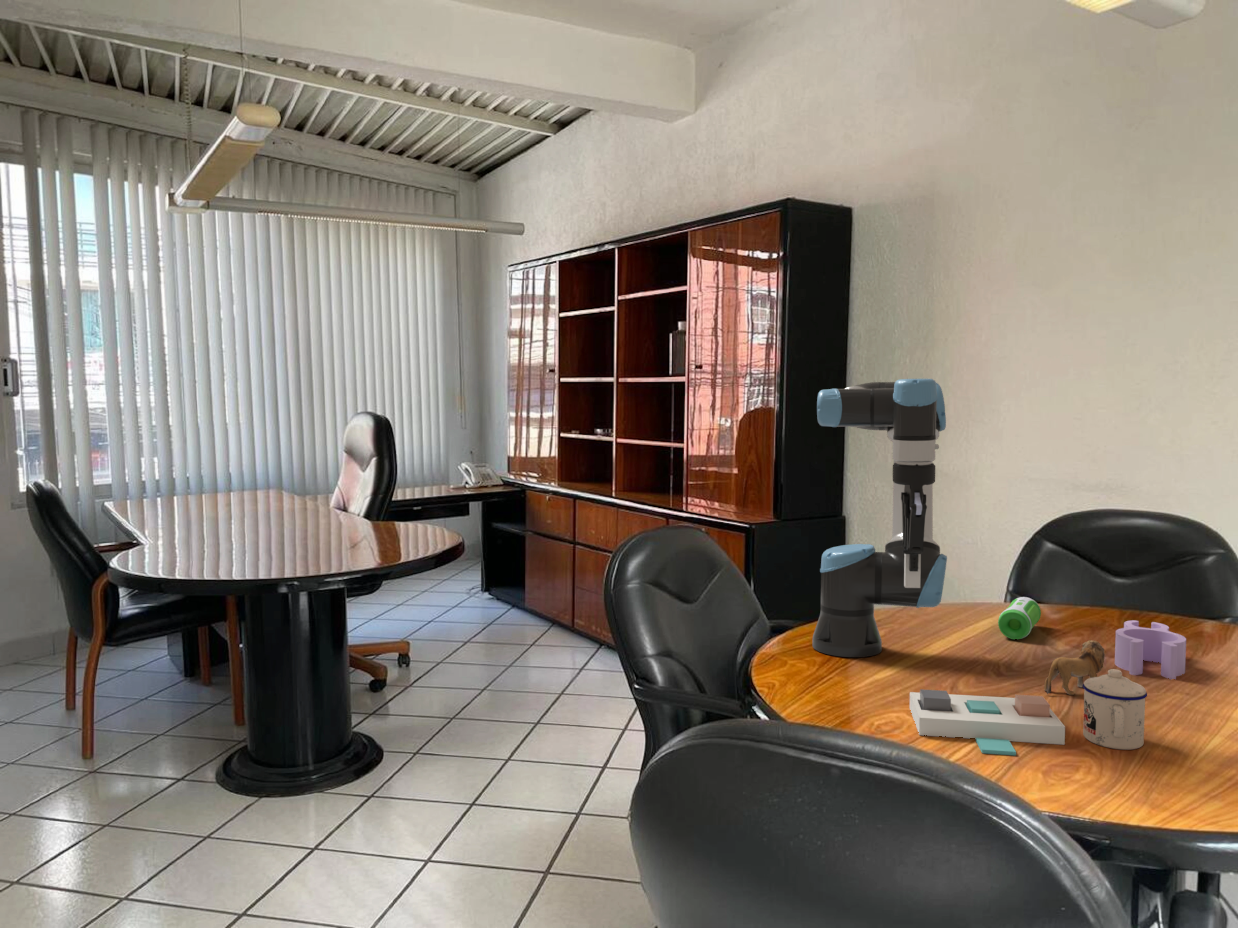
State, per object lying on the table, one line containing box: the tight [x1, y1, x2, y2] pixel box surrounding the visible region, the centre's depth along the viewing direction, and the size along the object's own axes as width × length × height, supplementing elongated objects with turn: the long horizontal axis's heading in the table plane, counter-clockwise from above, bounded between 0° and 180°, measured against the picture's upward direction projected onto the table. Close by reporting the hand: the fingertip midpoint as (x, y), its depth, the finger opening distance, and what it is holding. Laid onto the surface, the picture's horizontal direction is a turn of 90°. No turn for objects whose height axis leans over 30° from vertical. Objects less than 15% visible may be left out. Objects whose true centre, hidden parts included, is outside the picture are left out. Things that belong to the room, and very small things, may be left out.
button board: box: [909, 691, 1066, 746], centre depth 149 cm, size 13×22×3 cm, turn 78°
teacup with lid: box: [1082, 668, 1148, 751], centre depth 140 cm, size 12×9×12 cm
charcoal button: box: [919, 688, 951, 712], centre depth 150 cm, size 4×4×3 cm
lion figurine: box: [1043, 639, 1106, 696], centre depth 166 cm, size 15×5×9 cm, turn 117°
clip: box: [1114, 619, 1187, 680], centre depth 182 cm, size 20×12×7 cm, turn 153°
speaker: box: [997, 596, 1042, 640], centre depth 208 cm, size 18×7×8 cm, turn 146°
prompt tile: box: [975, 738, 1017, 757], centre depth 139 cm, size 5×5×1 cm
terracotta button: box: [1014, 694, 1051, 717], centre depth 147 cm, size 4×4×3 cm
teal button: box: [967, 700, 1000, 714], centre depth 149 cm, size 4×4×3 cm
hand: (912, 586), depth 163 cm, fingers closed
